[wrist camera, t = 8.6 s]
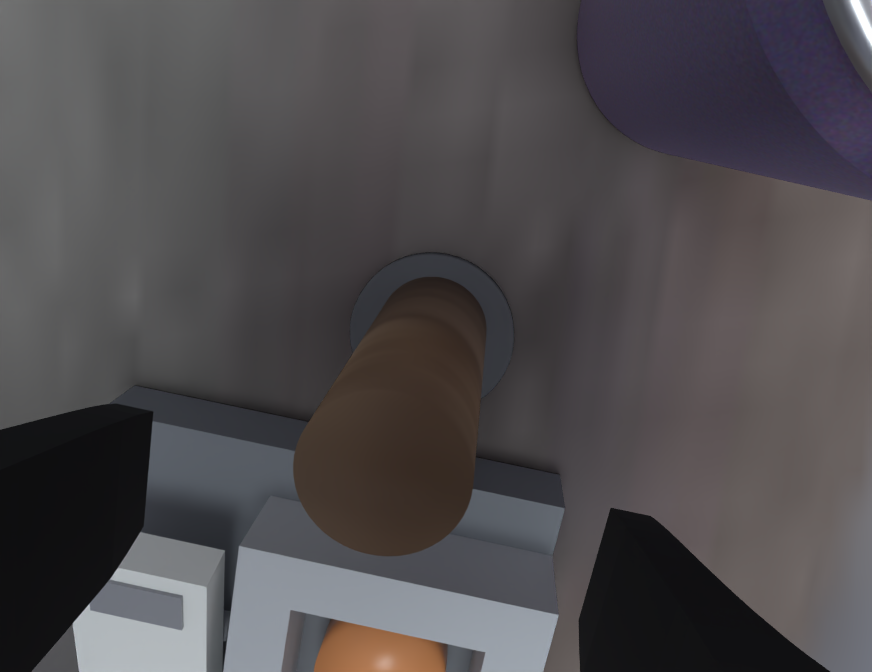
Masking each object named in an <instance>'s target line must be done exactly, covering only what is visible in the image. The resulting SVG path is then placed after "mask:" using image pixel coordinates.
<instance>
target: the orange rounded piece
mask: <svg viewBox="0 0 872 672" xmlns="http://www.w3.org/2000/svg"><path fill="white" fill-rule="evenodd" d="M447 655H448V646H447V644H445V643H440V642H436V641H431V640H426V639H422V638H417V637H413V636H408V635H404V634H399V633H394V632H390V631H385V630H381V629H376V628H372V627H367V626H362V625H358V624H353V623H349V622H344V621H340V620H335V619H331V620H330V623H329V625H328V627H327V630H326V633H325V636H324V639H323V642H322V645H321V647H320V650H319V653H318V656H317V659H316V662H315V666H314V672H446V664H447Z"/></svg>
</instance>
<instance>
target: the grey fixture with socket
mask: <svg viewBox="0 0 872 672" xmlns="http://www.w3.org/2000/svg"><path fill="white" fill-rule="evenodd" d="M115 403H116V404H121V405H126V406H131V407H135V408H140V409H145V410H150V411H153V423H152V435H151V447H150V459H149V471H148V482H147V494H146V506H145V518H144V527H143V528H142V530H141V532H142V533H147V534H151V535H156V536H160V537H165V538H170V539H174V540H179V541H183V542H188V543H193V544H197V545H202V546H207V547H211V548H216V549H220V550H225V569H224V616H223V663H222V672H314V666H315V662H316V659H317V656H318V653H319V650H320V647H321V645H322V642H323V639H324V636H325V633H326V630H327V627H328V625H329V623H330V620H331V619H335V620H340V621H344V622H349V623H353V624H358V625H362V626H367V627H372V628H376V629H381V630H385V631H390V632H394V633H399V634H404V635H408V636H413V637H417V638H422V639H426V640H431V641H436V642H440V643H445V644H447V646H448V655H447V664H446V672H543V670H544V666H545V663H546V659H547V656H548V652H549V648H550V645H551V641H552V637H553V634H554V630H555V627H556V623H557V619H558V616H559V613H558V604H557V595H556V585H555V576H554V567H553V557H552V555H553V552H554V548H555V544H556V540H557V537H558V533H559V529H560V525H561V522H562V518H563V514H564V510H565V505H564V498H563V492H562V485H561V479H560V475H558V474H553V473H548V472H544V471H539V470H534V469H529V468H525V467H520V466H515V465H510V464H506V463H501V462H496V461H491V460H487V459H482V458H477V457H476V459H475V471H474V482H473V490H472V496H471V500H470V502H469V505H468V508H467V510H466V512H465V514H464V516H463V518H462V519H461V521H460V522H459V523H458V525H457V526H456V527H455V528H454V529H453V530H452V531H451V533H450V534H449V535H447V536H446V537H445V538H444V539H442V540H441V541H440V542H438V543H436V544H435V545H433V546H431V547H429V548H427V549H424V550H422V551H419V552H416V553H412V554H408V555H402V556H388V557H387V556H375V555H370V554H365V553H361V552H358V551H355V550H352V549H350V548H348V547H346V546H343V545H342V544H340V543H338V542H337V541H335V540H333V539H332V538H331V537H329V536H328V535H327V534H325V533H324V532H323V531H322V530H321V529H320V528H319V527H318V526H317V525H316V524H315V523H314V522H313V521H312V519H311V518H310V517H309V516H308V514H307V512H306V511H305V509H304V508H303V506H302V504H301V501H300V499H299V497H298V494H297V491H296V488H295V483H294V477H293V461H294V453H295V450H296V446H297V443H298V440H299V438H300V436H301V434H302V432H303V430H304V429H305V427H306V425H307V424H308V422H306V421H301V420H296V419H292V418H287V417H282V416H277V415H273V414H268V413H263V412H258V411H254V410H249V409H244V408H239V407H235V406H230V405H225V404H220V403H216V402H211V401H206V400H201V399H197V398H192V397H187V396H182V395H178V394H173V393H168V392H163V391H159V390H154V389H149V388H144V387H140V386H133V387H132V388H130V389H129V390H128V391H126V392H125V393H124V394H122V395H121V396H119V397H118V398H117V399H115V400H114V401H113V402H111V403H110V404H115Z"/></svg>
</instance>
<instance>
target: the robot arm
mask: <svg viewBox="0 0 872 672" xmlns="http://www.w3.org/2000/svg"><path fill="white" fill-rule="evenodd" d="M152 423H153V411H150V410H145V409H140V408H135V407H131V406H126V405H121V404H116V403H115V404H106V405H99V406H94V407H89V408H85V409H80V410H76V411H72V412H68V413H64V414H60V415H56V416H52V417H48V418H44V419H41V420H37V421H33V422H29V423H25V424H21V425H17V426H13V427H10V428H6V429H2V430H0V672H31V671H32V670H33V669H34V668H35V666H36V665H37V664H38V663H39V662H40V661H41V660H42V658H43V657H44V656H45V655H46V654H47V653H48V651H49V650H50V649H51V648H52V647H53V646H54V644H55V643H56V642H57V641H58V640H59V639H60V638H61V636H62V635H63V634H64V633H65V632H66V631H67V629H68V628H69V627H70V626H71V625H72V624H73V623H74V621H75V620H76V619H77V618H78V617H79V616H80V614H81V613H82V612H83V611H84V610H85V608H86V607H87V606H88V605H89V604H90V603H91V601H92V600H93V599H94V598H95V597H96V595H97V594H98V593H99V592H100V591H101V590H102V588H103V587H104V586H105V585H106V583H107V582H108V581H109V580H110V579H111V577H112V576H113V574H114V573H115V571H116V570H117V568H118V567H119V565H120V564H121V562H122V561H123V559H124V558H125V556H126V555H127V553H128V551H129V550H130V548H131V546H132V545H133V543H134V542H135V540H136V538H137V537H138V535H139V533H140V532H141V530H142V528H143V527H144V518H145V506H146V494H147V482H148V471H149V459H150V447H151V435H152ZM579 654H580V672H830V671H829V670H827V669H826V668H824V667H823V666H822V665H820V664H819V663H818V662H816V661H815V660H813V659H812V658H811V657H809V656H808V655H807V654H805V653H804V652H803V651H801V650H800V649H799V648H798V647H796V646H795V645H794V644H793V643H791V642H790V641H789V640H787V639H786V638H785V637H784V636H783V635H781V634H780V633H779V632H778V631H777V630H776V629H774V628H773V627H772V626H771V625H770V624H768V623H767V622H766V621H765V620H764V619H763V618H761V617H760V616H759V615H758V614H757V613H755V612H754V611H753V610H752V609H751V608H750V607H749V606H747V605H746V604H745V603H744V602H743V601H742V600H741V599H740V598H739V597H737V596H736V595H735V594H734V593H733V592H732V591H731V590H730V589H729V588H728V587H727V586H725V585H724V584H723V583H722V582H721V581H720V580H719V579H718V578H717V577H716V576H715V575H714V574H713V573H712V572H711V571H710V570H709V569H708V568H707V567H705V566H704V565H703V564H702V563H701V562H700V561H699V560H698V559H697V558H696V557H695V556H694V555H693V554H692V553H691V552H690V551H689V550H688V549H687V548H686V547H685V546H684V545H683V544H682V543H681V542H680V541H679V540H678V539H676V538H675V537H674V536H673V535H672V534H671V533H670V532H669V531H668V530H667V529H666V528H665V527H664V526H662V525H661V524H660V523H659V522H658V521H656V520H655V519H654V518H652V517H651V516H648V515H643V514H638V513H633V512H629V511H624V510H619V509H614V508H611V509H610V512H609V516H608V519H607V523H606V526H605V530H604V533H603V537H602V540H601V544H600V547H599V551H598V554H597V558H596V561H595V565H594V568H593V572H592V575H591V579H590V582H589V586H588V589H587V593H586V596H585V600H584V603H583V607H582V610H581V614H580V617H579Z"/></svg>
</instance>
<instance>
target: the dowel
mask: <svg viewBox="0 0 872 672" xmlns="http://www.w3.org/2000/svg"><path fill="white" fill-rule="evenodd" d="M486 331H487V327H486V320H485V315H484V313H483V310H482V308H481V306H480V304H479V302H478V301H477V299H476V298H475V297H474V296H473V295H472V294H471V292H470V291H468V290H467V289H466V288H465V287H463V286H462V285H460V284H458V283H456V282H454V281H452V280H449V279H446V278H441V277H422V278H417V279H414V280H411V281H409V282H407V283H405V284H403V285H402V286H400V287H399V288H398V289H397V290H396V291H394V292H393V293H392V295H391V296H390V297H389V298H388V300H387V301H386V303H385V304H384V306H383V308H382V309H381V311H380V312H379V314H378V315H377V317H376V318H375V320H374V322H373V323H372V325H371V326H370V328H369V329H368V331H367V332H366V334H365V335H364V337H363V339H362V340H361V342H360V343H359V345H358V346H357V348H356V349H355V351H354V353H353V354H352V356H351V357H350V359H349V360H348V362H347V363H346V365H345V366H344V368H343V370H342V371H341V373H340V374H339V376H338V377H337V379H336V380H335V382H334V384H333V385H332V387H331V388H330V390H329V391H328V393H327V394H326V396H325V398H324V399H323V401H322V402H321V404H320V405H319V407H318V408H317V410H316V411H315V413H314V415H313V416H312V418H311V419H310V421H309V422H308V424H307V425H306V427H305V429H304V430H303V432H302V434H301V436H300V438H299V440H298V443H297V446H296V450H295V453H294V461H293V477H294V483H295V488H296V491H297V494H298V497H299V499H300V501H301V504H302V506H303V508H304V509H305V511H306V512H307V514H308V516H309V517H310V518H311V519H312V521H313V522H314V523H315V524H316V525H317V526H318V527H319V528H320V529H321V530H322V531H323V532H324V533H325V534H327V535H328V536H329V537H331V538H332V539H333V540H335V541H337V542H338V543H340V544H342V545H343V546H346V547H348V548H350V549H352V550H355V551H358V552H361V553H365V554H370V555H375V556H387V557H388V556H402V555H408V554H412V553H416V552H419V551H422V550H424V549H427V548H429V547H431V546H433V545H435V544H436V543H438V542H440V541H441V540H442V539H444V538H445V537H446V536H447V535H449V534H450V533H451V531H452V530H453V529H454V528H455V527H456V526H457V525H458V523H459V522H460V521H461V519H462V518H463V516H464V514H465V512H466V510H467V508H468V505H469V502H470V500H471V496H472V490H473V482H474V471H475V459H476V448H477V437H478V425H479V414H480V402H481V391H482V379H483V368H484V356H485V345H486Z"/></svg>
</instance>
